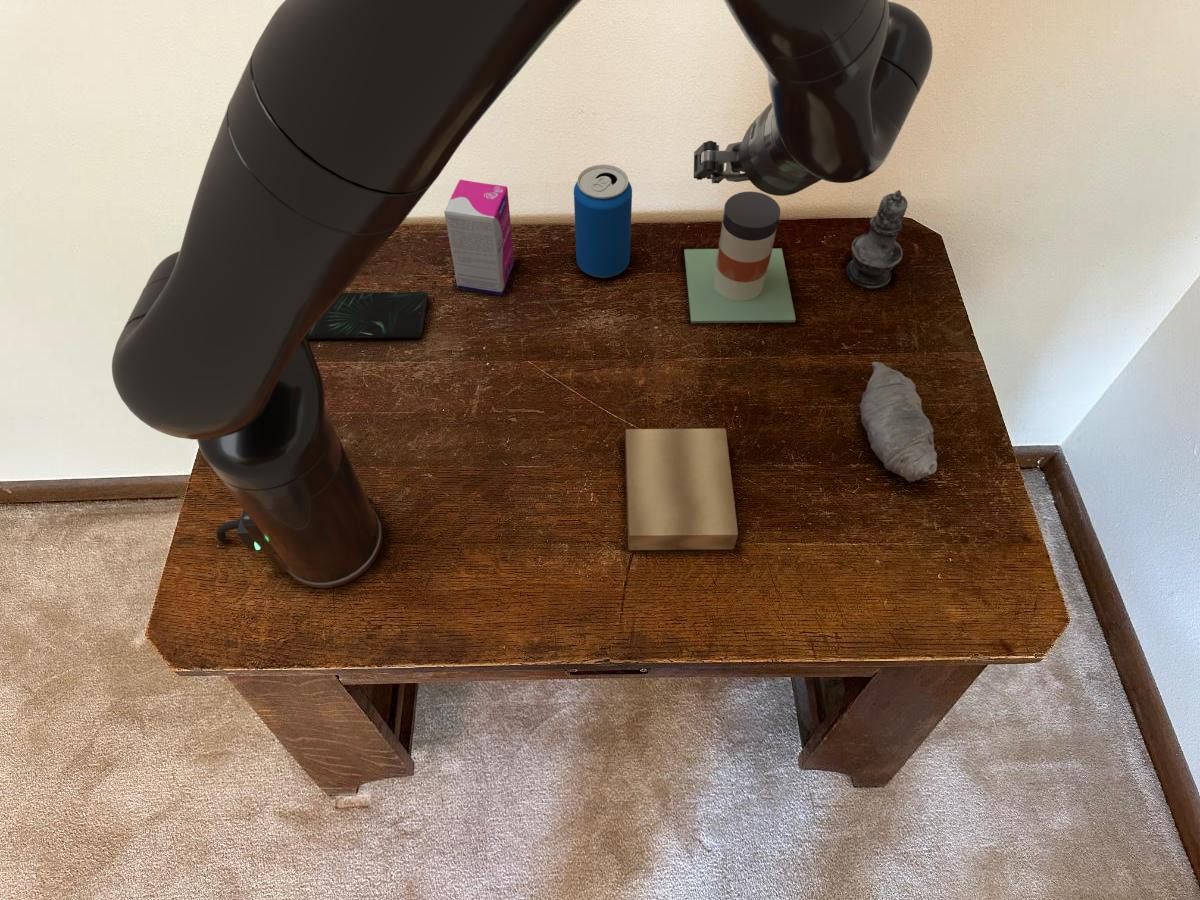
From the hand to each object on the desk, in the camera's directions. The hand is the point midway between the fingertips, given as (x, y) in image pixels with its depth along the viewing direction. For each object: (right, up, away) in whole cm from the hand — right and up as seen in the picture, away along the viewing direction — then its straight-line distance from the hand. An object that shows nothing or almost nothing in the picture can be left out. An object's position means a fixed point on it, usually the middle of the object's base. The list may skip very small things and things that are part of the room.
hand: (756, 173), depth 83 cm
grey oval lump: (+13, -28, -1) cm, 31 cm away
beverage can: (-16, -6, +14) cm, 22 cm away
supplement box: (-30, -8, +13) cm, 34 cm away
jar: (0, -4, +9) cm, 9 cm away
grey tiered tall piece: (+16, -8, +13) cm, 22 cm away
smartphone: (-44, -14, +9) cm, 47 cm away
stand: (-9, -33, -5) cm, 35 cm away
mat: (0, -9, +12) cm, 15 cm away
